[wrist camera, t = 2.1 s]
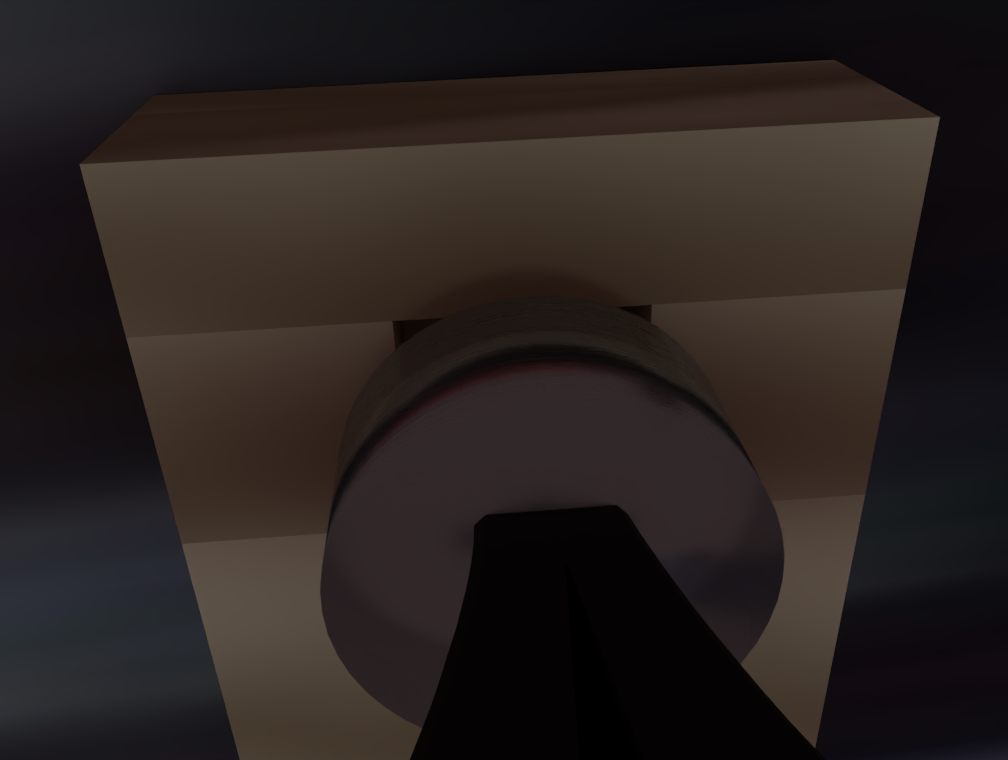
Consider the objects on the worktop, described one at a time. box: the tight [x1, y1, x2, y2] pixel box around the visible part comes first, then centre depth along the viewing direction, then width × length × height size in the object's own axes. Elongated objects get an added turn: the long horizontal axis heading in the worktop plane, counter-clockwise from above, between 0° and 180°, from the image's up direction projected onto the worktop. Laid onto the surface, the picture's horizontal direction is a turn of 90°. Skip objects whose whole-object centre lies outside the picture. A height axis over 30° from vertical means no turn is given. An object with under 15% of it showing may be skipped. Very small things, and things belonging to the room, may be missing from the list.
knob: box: [320, 296, 785, 728], centre depth 11 cm, size 4×4×4 cm
